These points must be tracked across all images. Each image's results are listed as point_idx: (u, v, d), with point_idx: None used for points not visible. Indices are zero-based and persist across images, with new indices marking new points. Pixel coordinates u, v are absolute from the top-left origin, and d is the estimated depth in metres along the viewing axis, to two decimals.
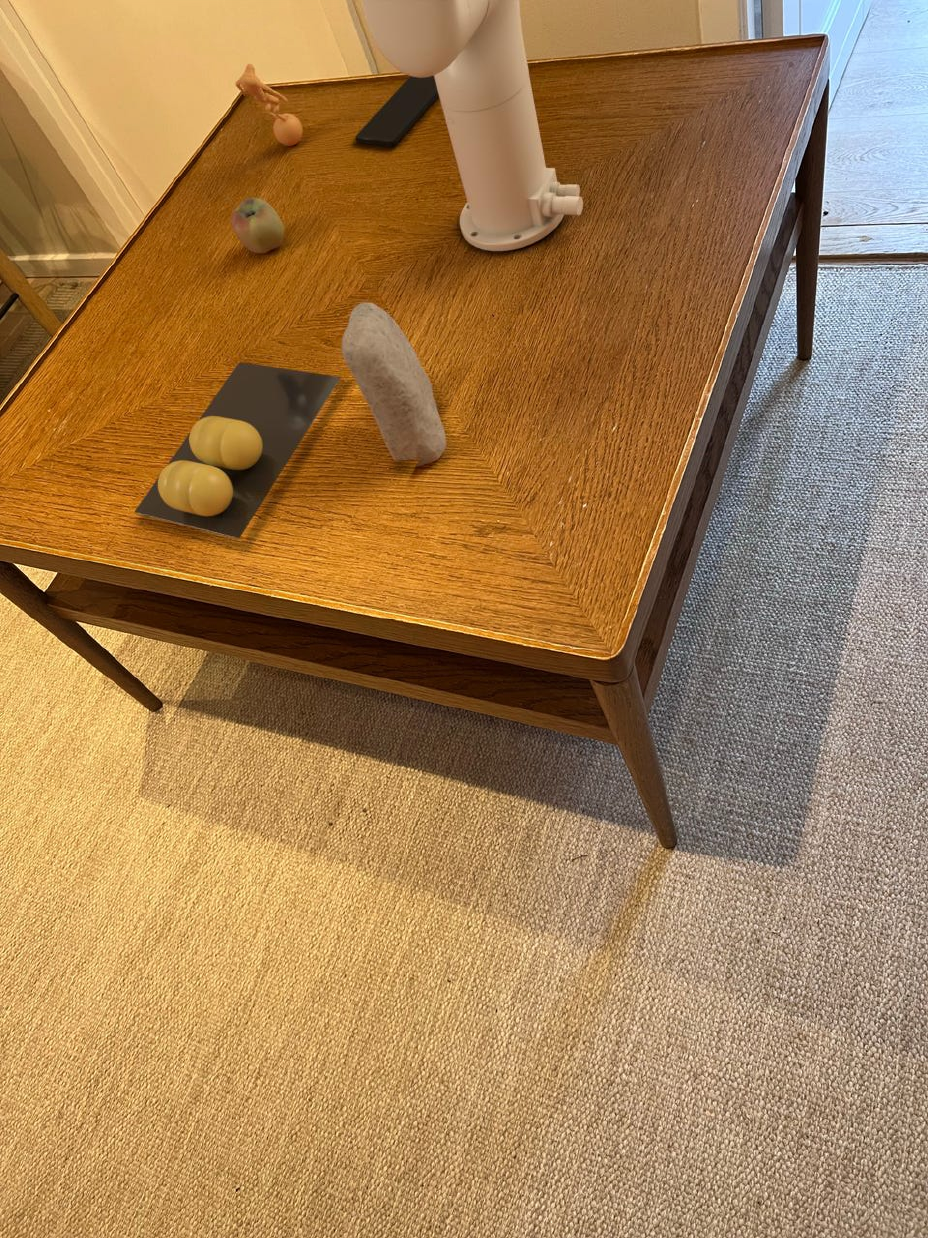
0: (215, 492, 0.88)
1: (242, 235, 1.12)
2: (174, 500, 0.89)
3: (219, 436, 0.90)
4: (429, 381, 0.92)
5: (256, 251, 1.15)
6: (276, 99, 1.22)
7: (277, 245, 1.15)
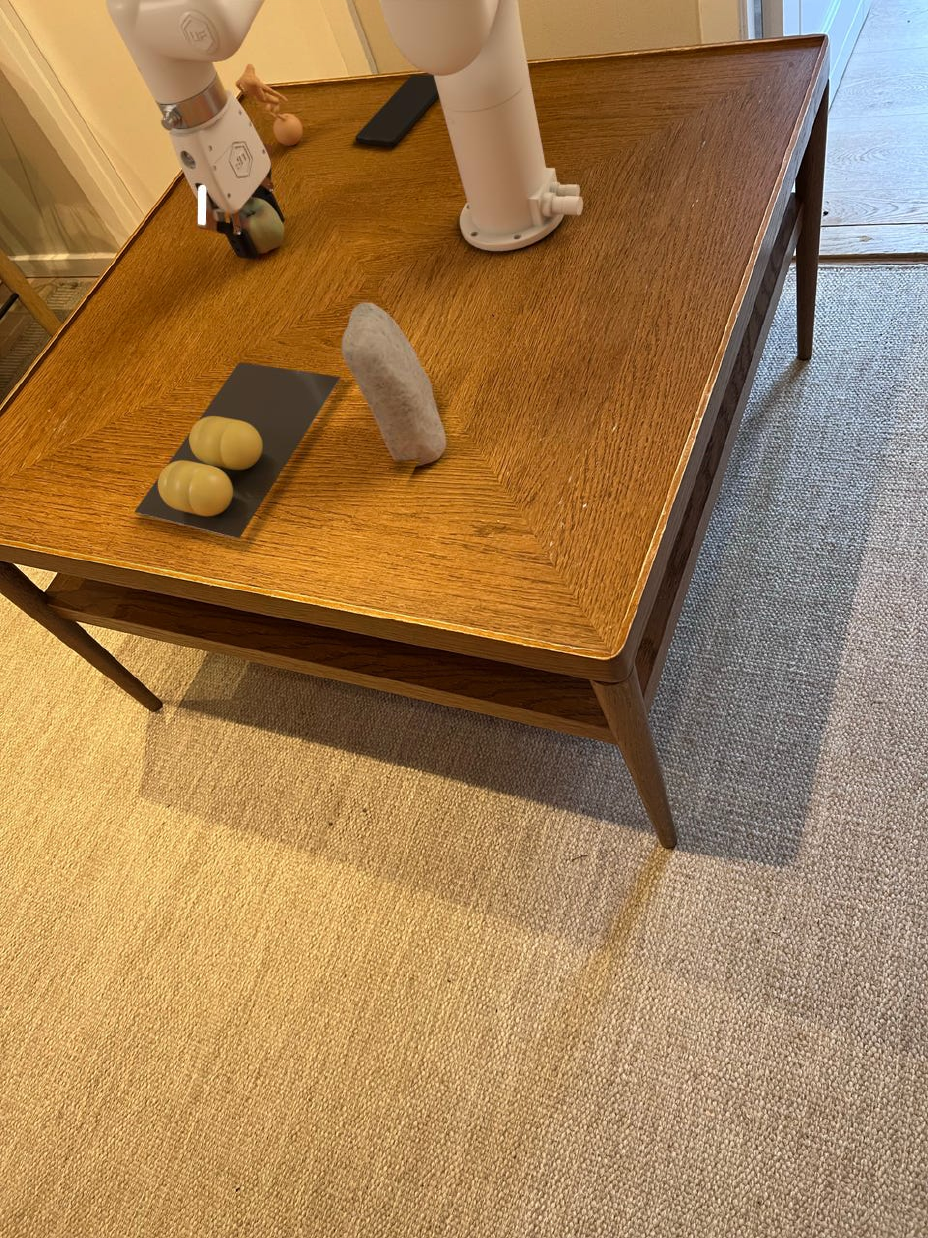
0: (215, 492, 0.88)
1: None
2: (174, 500, 0.89)
3: (219, 436, 0.90)
4: (429, 381, 0.92)
5: None
6: (276, 99, 1.22)
7: (277, 245, 1.15)
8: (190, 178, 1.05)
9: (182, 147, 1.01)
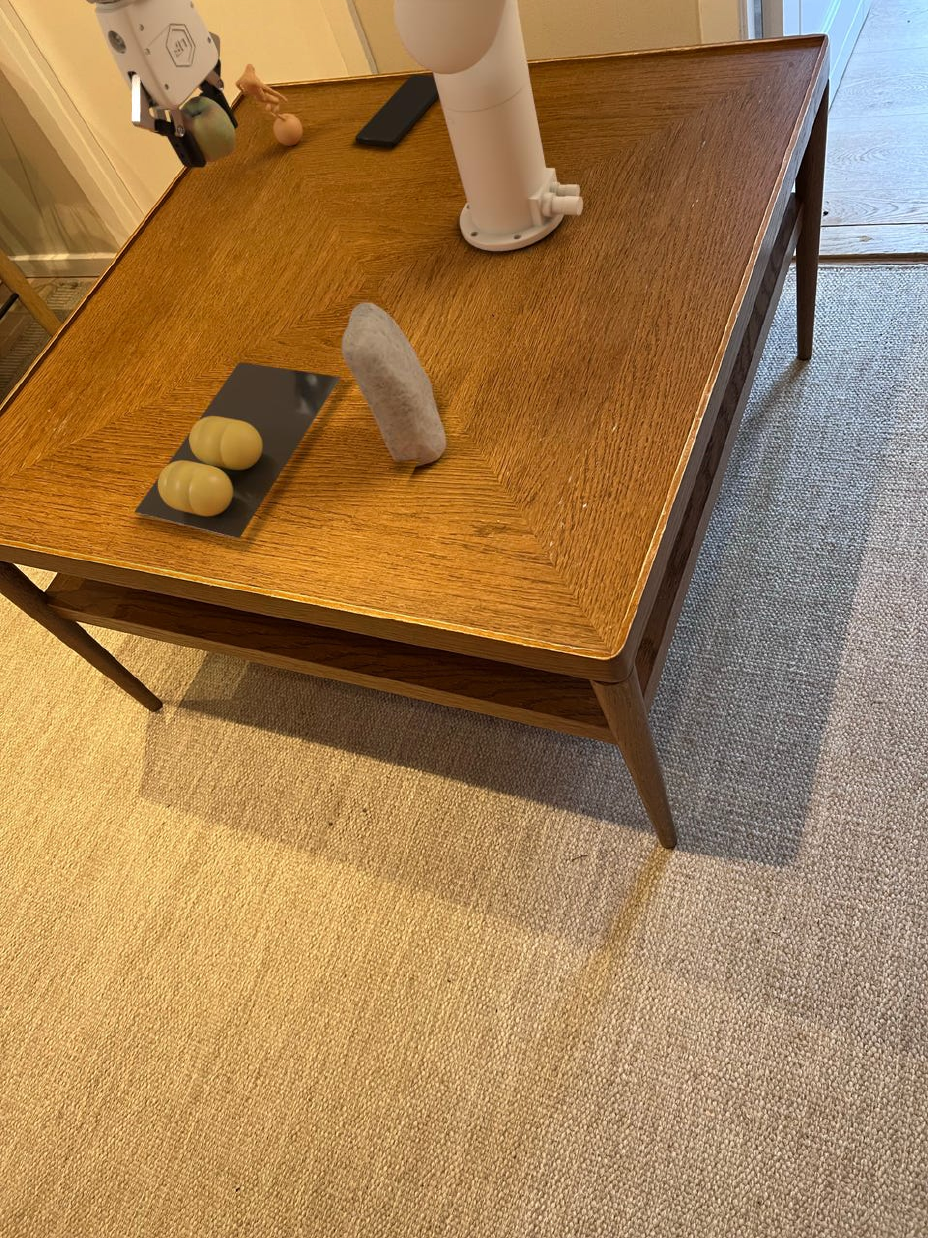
0: (215, 492, 0.88)
1: None
2: (174, 500, 0.89)
3: (219, 436, 0.90)
4: (429, 381, 0.92)
5: None
6: (276, 99, 1.22)
7: (228, 152, 1.01)
8: (121, 65, 0.91)
9: (109, 26, 0.88)
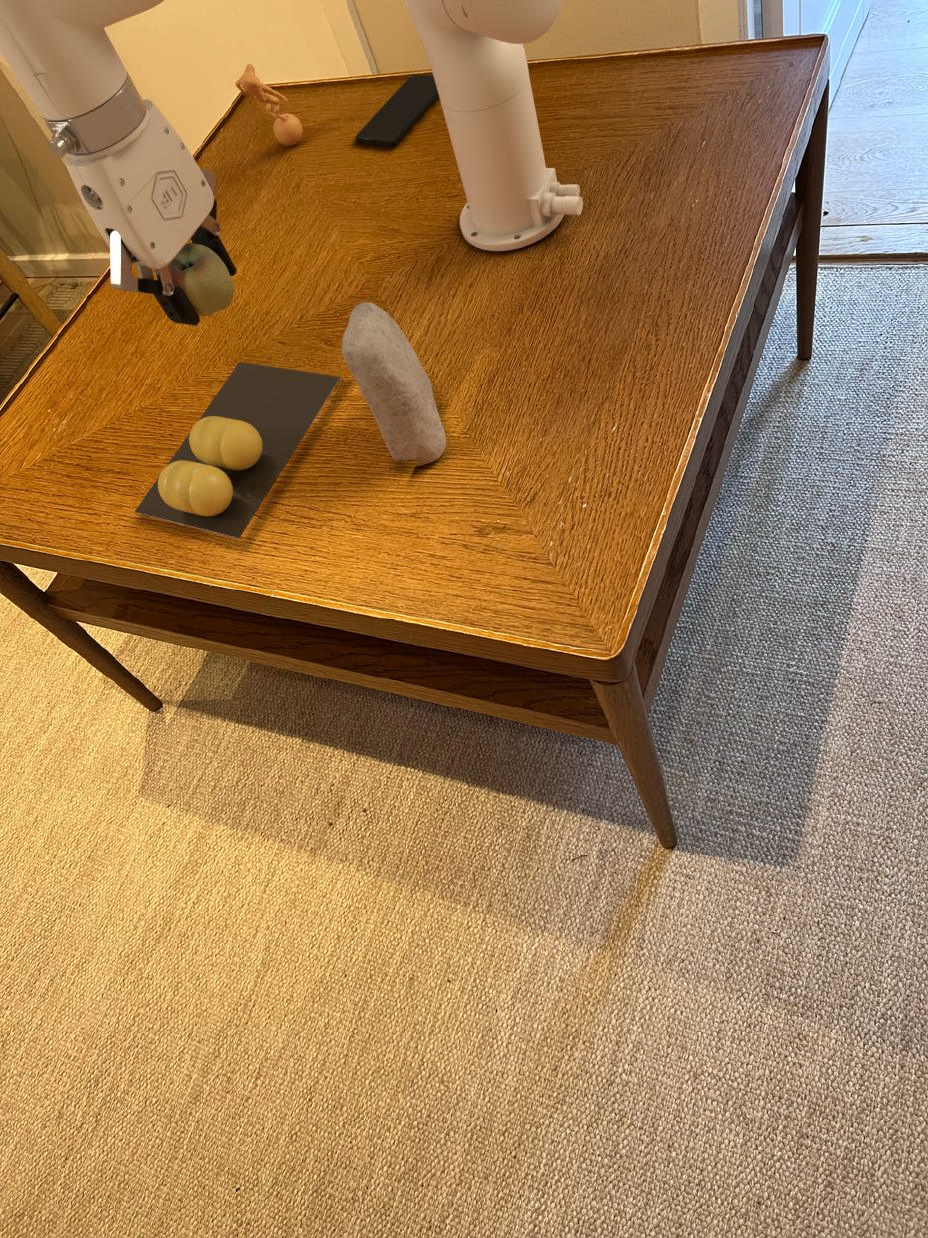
0: (215, 492, 0.88)
1: None
2: (174, 500, 0.89)
3: (219, 436, 0.90)
4: (429, 381, 0.92)
5: None
6: (276, 99, 1.22)
7: (225, 306, 0.86)
8: (98, 222, 0.76)
9: (83, 181, 0.72)
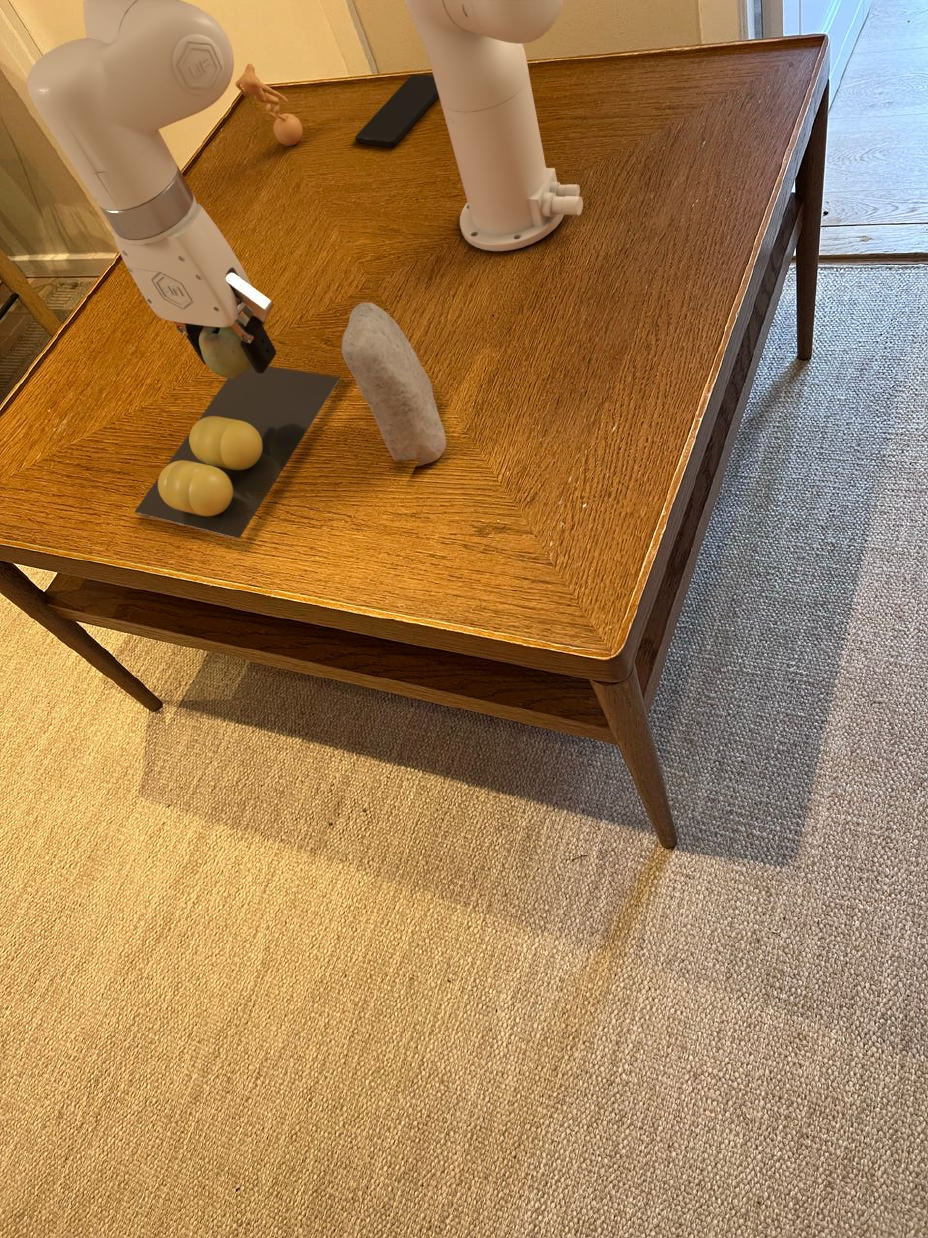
0: (215, 492, 0.88)
1: None
2: (174, 500, 0.89)
3: (219, 436, 0.90)
4: (429, 381, 0.92)
5: None
6: (276, 99, 1.22)
7: None
8: None
9: None
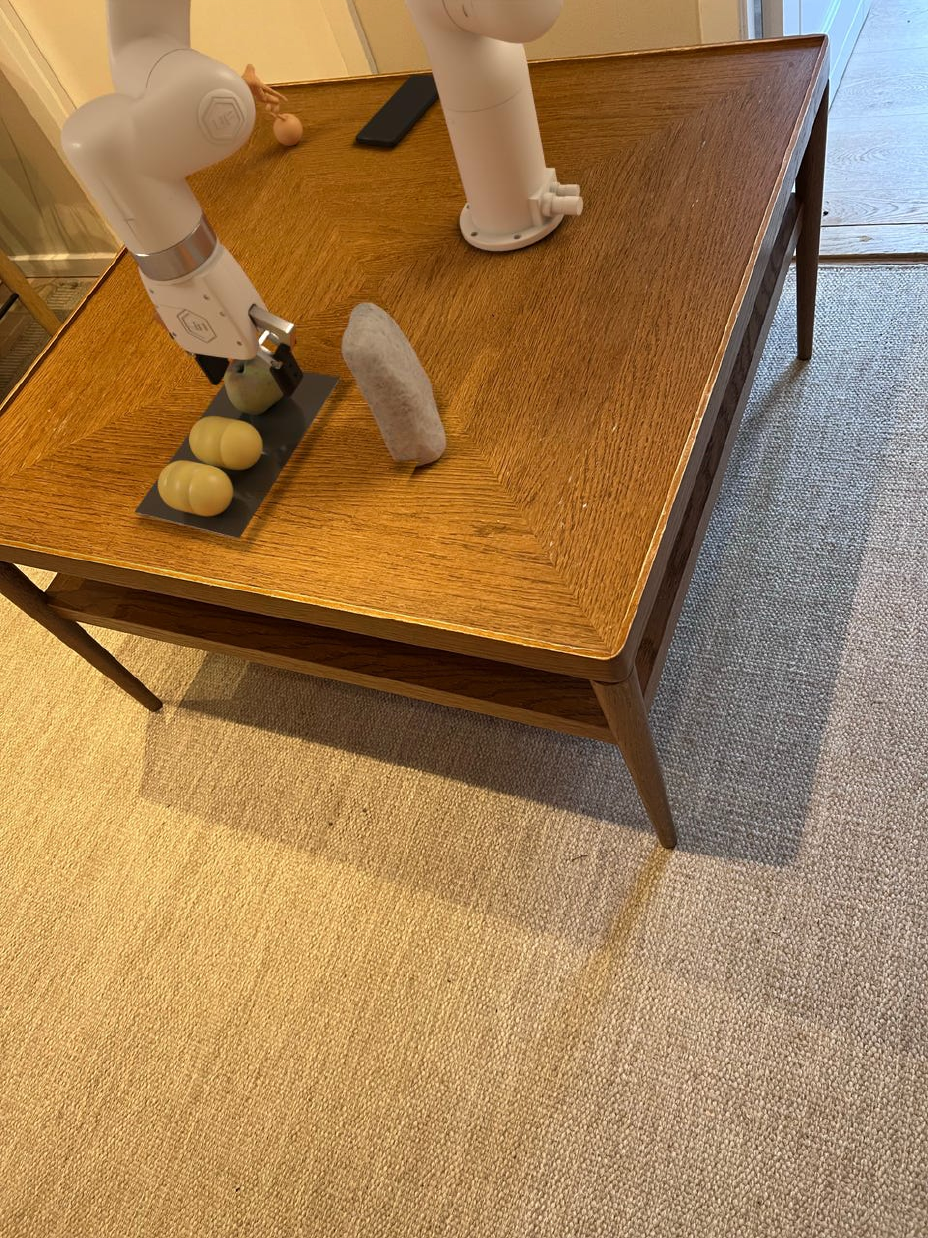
0: (215, 492, 0.88)
1: None
2: (174, 500, 0.89)
3: (219, 436, 0.90)
4: (429, 381, 0.92)
5: None
6: (276, 99, 1.22)
7: None
8: None
9: None
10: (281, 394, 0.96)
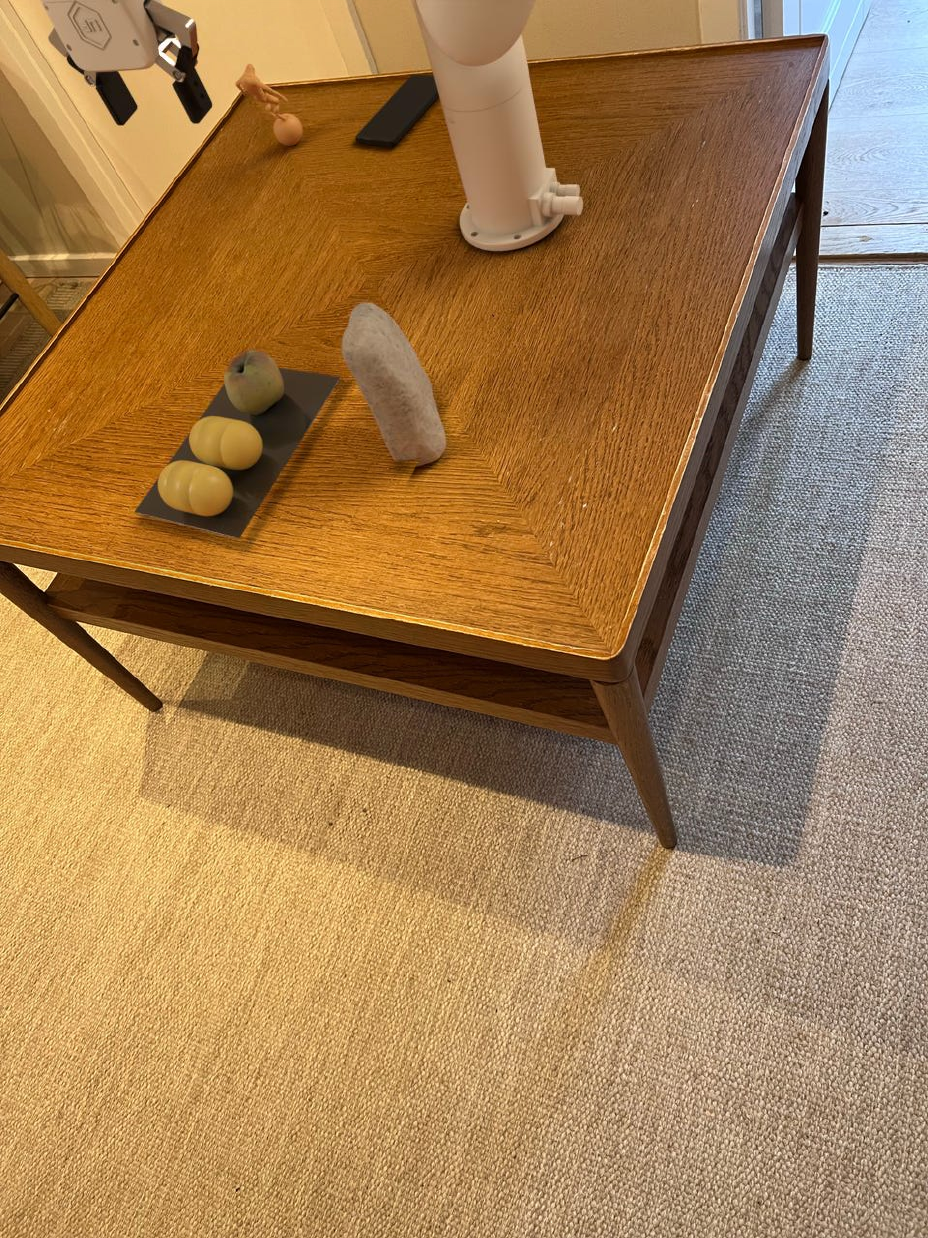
0: (215, 492, 0.88)
1: None
2: (174, 500, 0.89)
3: (219, 436, 0.90)
4: (429, 381, 0.92)
5: None
6: (276, 99, 1.22)
7: None
8: None
9: None
10: (281, 394, 0.96)
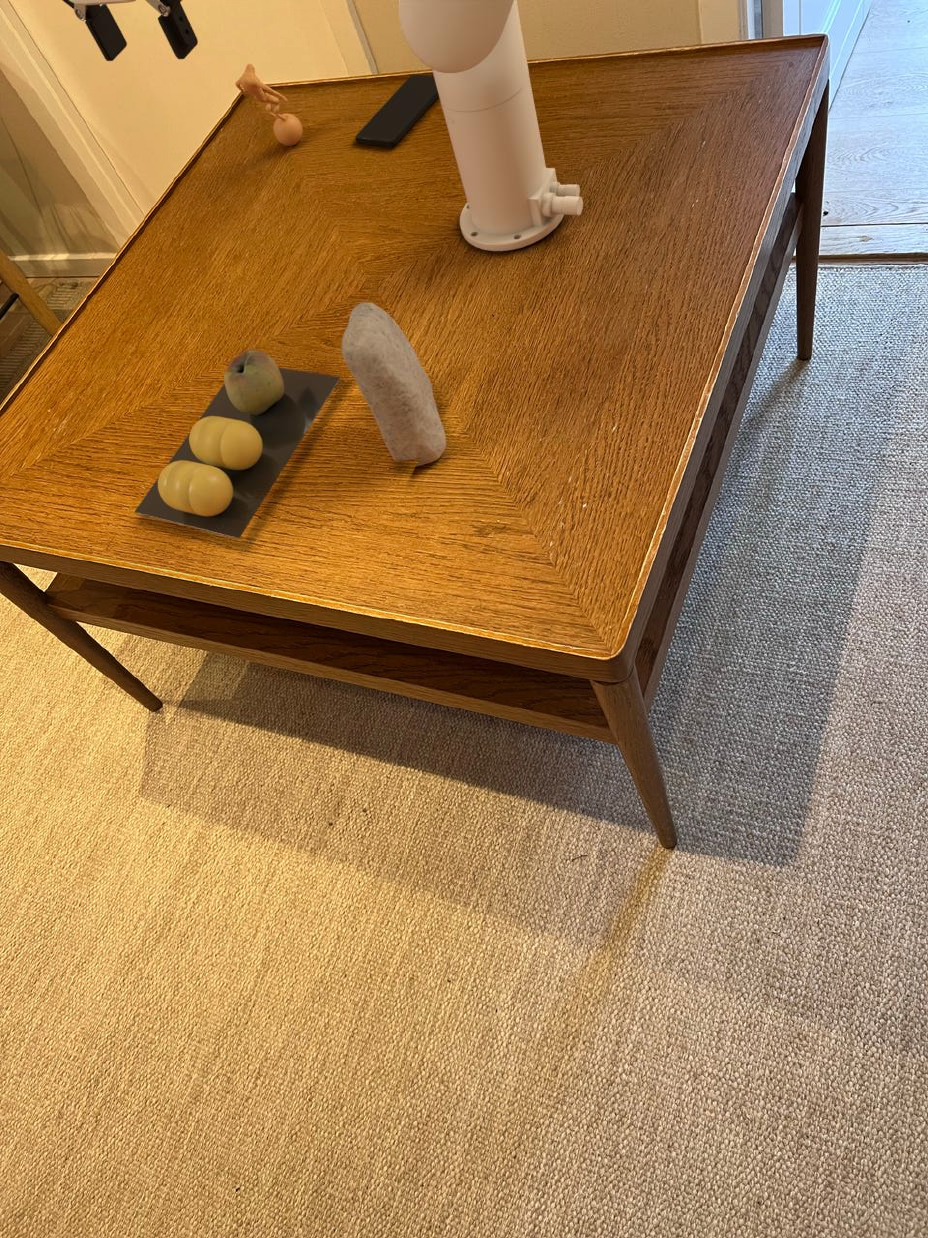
0: (215, 492, 0.88)
1: None
2: (174, 500, 0.89)
3: (219, 436, 0.90)
4: (429, 381, 0.92)
5: None
6: (276, 99, 1.22)
7: None
8: None
9: None
10: (281, 394, 0.96)
